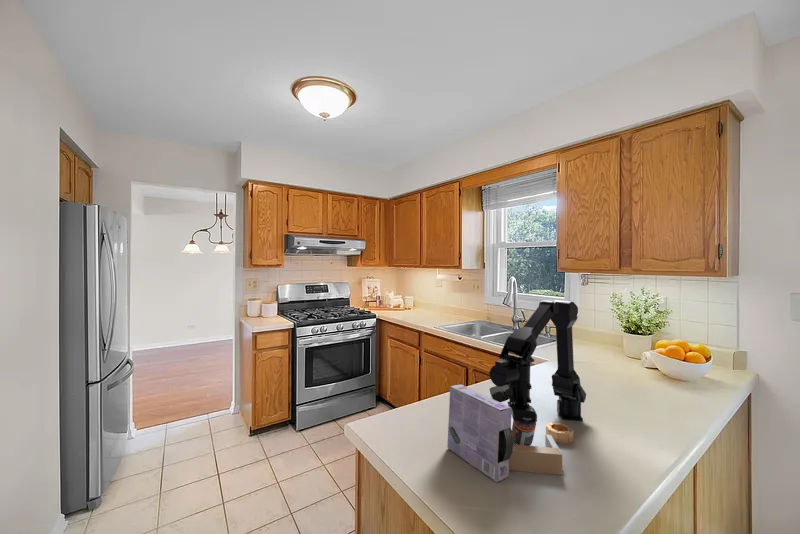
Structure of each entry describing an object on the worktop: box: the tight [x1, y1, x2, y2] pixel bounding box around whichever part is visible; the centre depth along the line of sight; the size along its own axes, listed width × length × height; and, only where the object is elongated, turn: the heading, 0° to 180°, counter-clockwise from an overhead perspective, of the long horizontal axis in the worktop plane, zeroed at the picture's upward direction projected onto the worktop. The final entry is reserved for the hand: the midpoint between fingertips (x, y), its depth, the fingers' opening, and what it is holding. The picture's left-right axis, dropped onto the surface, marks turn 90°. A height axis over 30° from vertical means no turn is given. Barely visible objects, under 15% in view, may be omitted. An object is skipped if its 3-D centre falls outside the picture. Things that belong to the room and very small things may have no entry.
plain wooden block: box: [509, 434, 563, 476], centre depth 90 cm, size 16×13×5 cm
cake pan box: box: [446, 384, 514, 484], centre depth 88 cm, size 19×5×18 cm, turn 33°
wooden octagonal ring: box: [545, 421, 574, 445], centre depth 101 cm, size 7×7×3 cm
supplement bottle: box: [511, 418, 537, 446], centre depth 95 cm, size 6×6×11 cm
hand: (518, 430), depth 100 cm, fingers closed, pressing on supplement bottle
